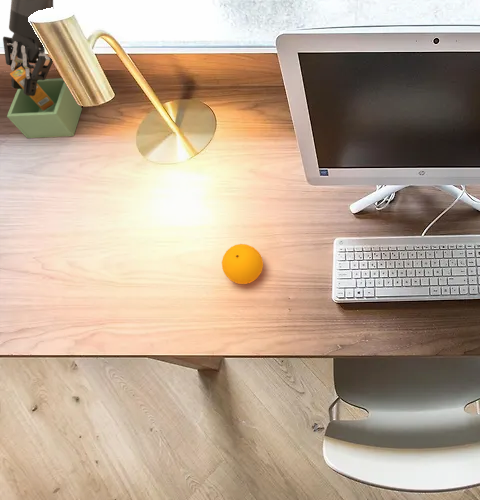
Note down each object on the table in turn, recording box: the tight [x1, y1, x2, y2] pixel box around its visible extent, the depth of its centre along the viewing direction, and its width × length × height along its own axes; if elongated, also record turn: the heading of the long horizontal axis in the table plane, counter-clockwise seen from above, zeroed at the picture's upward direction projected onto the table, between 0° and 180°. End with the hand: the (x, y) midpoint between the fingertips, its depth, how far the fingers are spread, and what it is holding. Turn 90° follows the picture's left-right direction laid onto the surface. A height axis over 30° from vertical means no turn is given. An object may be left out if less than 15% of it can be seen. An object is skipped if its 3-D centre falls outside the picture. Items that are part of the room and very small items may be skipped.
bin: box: [6, 77, 83, 139], centre depth 119 cm, size 12×12×8 cm
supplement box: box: [9, 66, 54, 111], centre depth 114 cm, size 3×3×10 cm
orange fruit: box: [221, 243, 264, 285], centre depth 97 cm, size 8×8×8 cm
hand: (23, 91), depth 112 cm, fingers closed on supplement box, 3 cm apart
